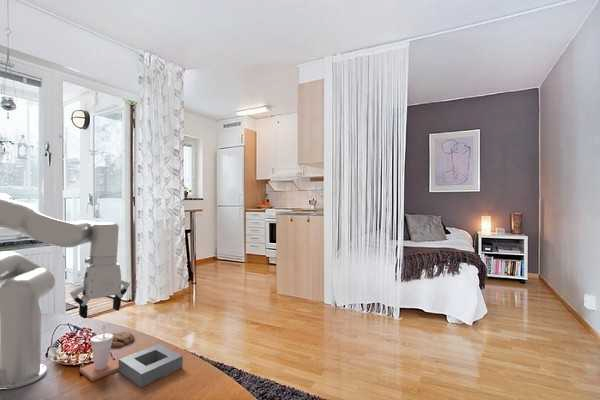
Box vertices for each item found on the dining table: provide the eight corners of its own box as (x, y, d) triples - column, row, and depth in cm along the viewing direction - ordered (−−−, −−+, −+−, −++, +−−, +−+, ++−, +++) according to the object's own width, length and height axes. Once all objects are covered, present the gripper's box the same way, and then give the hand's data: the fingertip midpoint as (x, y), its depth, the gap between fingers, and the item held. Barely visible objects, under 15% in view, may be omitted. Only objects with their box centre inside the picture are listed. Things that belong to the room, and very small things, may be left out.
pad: (91, 381, 98) (92, 378, 98) (79, 371, 103) (79, 368, 103) (122, 368, 105) (122, 365, 105) (109, 360, 110) (109, 357, 110)
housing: (141, 387, 96) (141, 374, 95) (118, 371, 104) (118, 359, 104) (182, 367, 107) (182, 355, 107) (158, 354, 115) (159, 343, 115)
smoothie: (104, 372, 101) (105, 328, 101) (84, 371, 101) (85, 327, 101) (116, 362, 107) (117, 320, 107) (97, 361, 107) (99, 319, 107)
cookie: (139, 341, 126) (139, 333, 126) (110, 351, 117) (111, 343, 117) (126, 334, 131) (126, 327, 131) (98, 344, 122) (98, 336, 122)
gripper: (77, 266, 94) (74, 324, 95) (136, 259, 109) (133, 309, 109) (67, 262, 99) (64, 317, 99) (125, 255, 113) (122, 304, 113)
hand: (100, 313), depth 104 cm, fingers open, 9 cm apart
